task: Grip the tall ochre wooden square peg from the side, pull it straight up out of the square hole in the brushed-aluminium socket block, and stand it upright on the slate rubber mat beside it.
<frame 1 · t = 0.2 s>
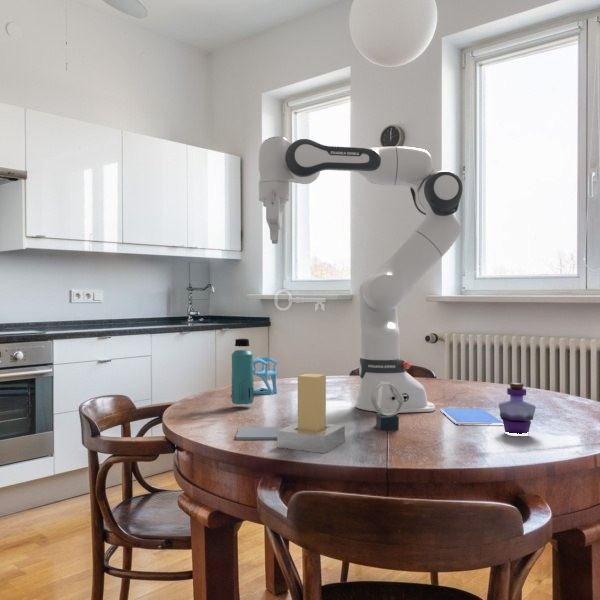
hand: (274, 242, 167), 48 cm above the table, tool pointing down, fingers open, 8 cm apart
glass trophy: (387, 428, 141), on the table
tablet computer: (470, 420, 154), on the table
socket block: (311, 444, 125), on the table
beverage bottle: (242, 408, 167), on the table
chair: (264, 393, 193), on the table
ochre peg: (311, 409, 125), in the socket block
potion bottle: (516, 435, 135), on the table
slate mat: (259, 434, 134), on the table
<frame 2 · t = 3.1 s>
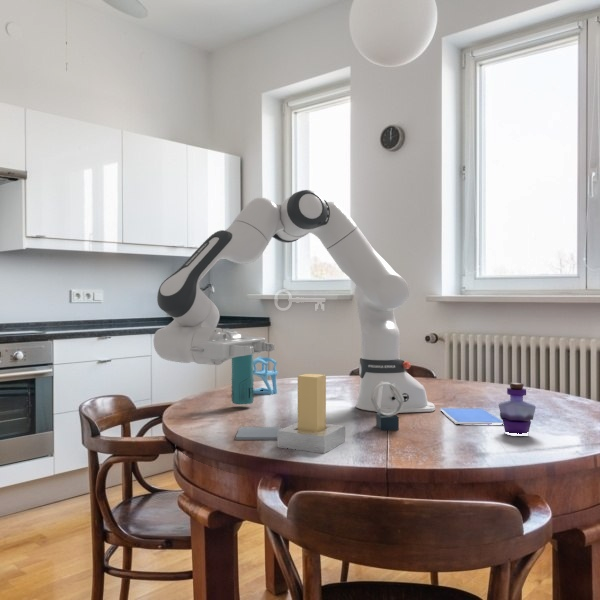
hand: (263, 349, 131), 20 cm above the table, tool horizontal, fingers open, 8 cm apart
nothing on the table moved.
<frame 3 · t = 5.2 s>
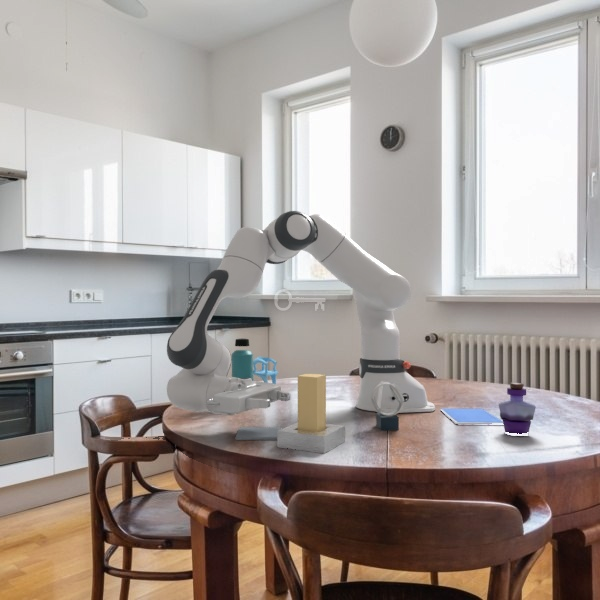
hand: (279, 400, 129), 9 cm above the table, tool horizontal, fingers open, 8 cm apart
nothing on the table moved.
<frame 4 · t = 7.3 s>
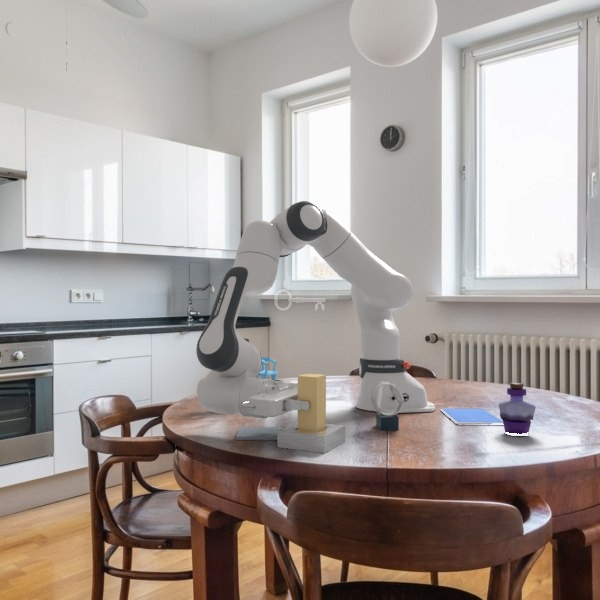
hand: (315, 403, 125), 9 cm above the table, tool horizontal, fingers closed on ochre peg, 5 cm apart
ochre peg: (311, 409, 125), in the socket block, touching gripper
everything else where it was.
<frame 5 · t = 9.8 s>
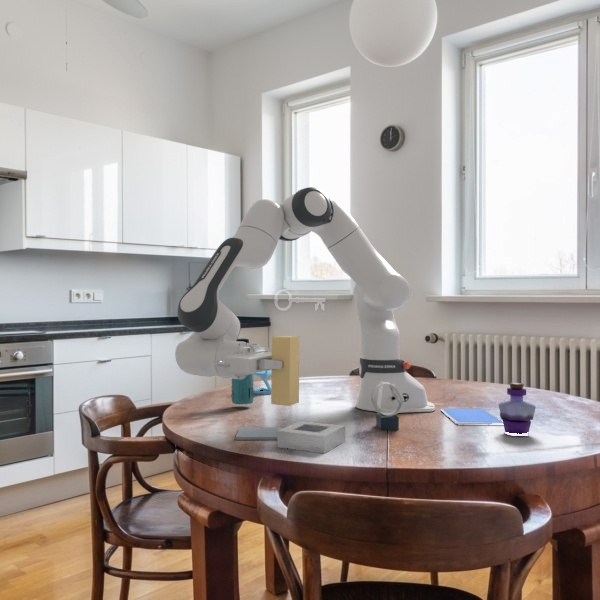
hand: (288, 363, 129), 17 cm above the table, tool horizontal, fingers closed on ochre peg, 5 cm apart
ochre peg: (285, 369, 129), point 16 cm above the table, touching gripper
everything else where it was.
when the fingers open (11 cm above the table, at t = 12.2 s): ochre peg drops 1 cm, resting on slate mat.
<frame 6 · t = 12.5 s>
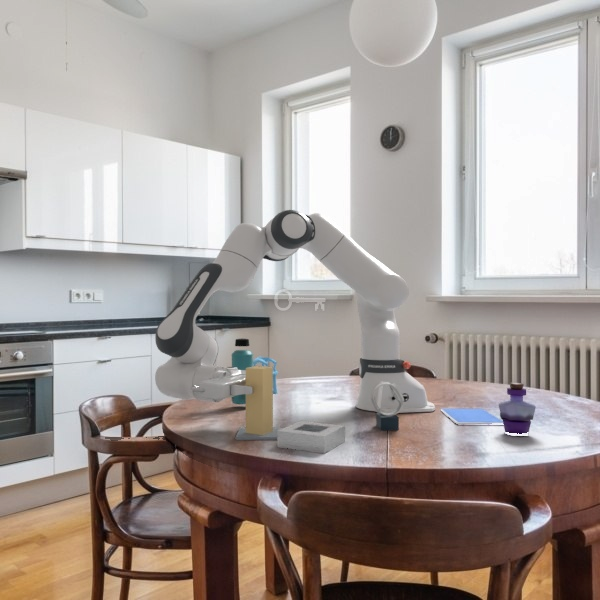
hand: (262, 387, 134), 11 cm above the table, tool horizontal, fingers open, 7 cm apart
ochre peg: (259, 399, 134), on the slate mat, point 8 cm above the table
everything else where it was.
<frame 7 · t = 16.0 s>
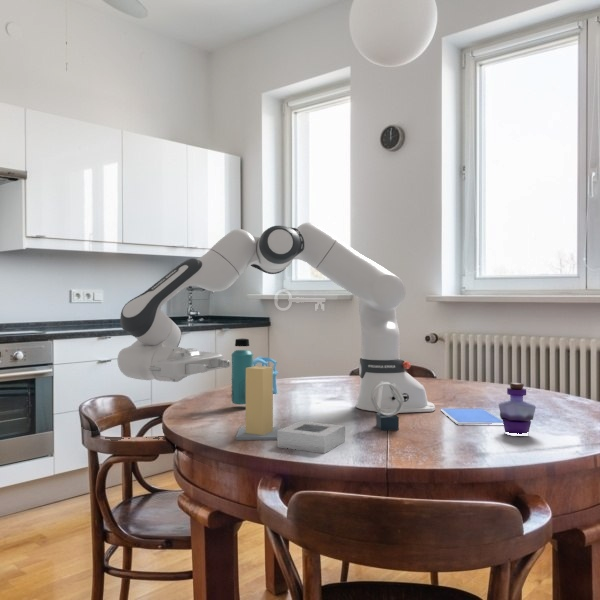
hand: (217, 366, 140), 15 cm above the table, tool horizontal, fingers open, 8 cm apart
nothing on the table moved.
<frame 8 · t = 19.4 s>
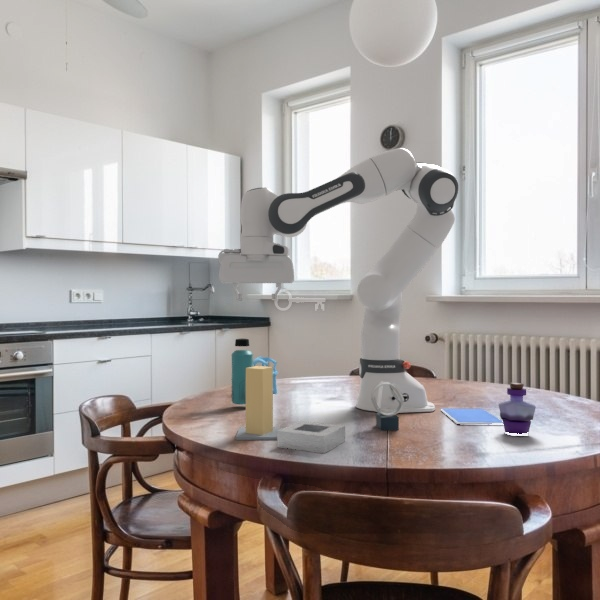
hand: (257, 300, 155), 31 cm above the table, tool pointing down, fingers open, 8 cm apart
nothing on the table moved.
at the end: ochre peg 0.0 cm off-centre on the slate mat, point 8.1 cm above the slate mat's base; ochre peg tilted 0°; the gripper is holding nothing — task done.
